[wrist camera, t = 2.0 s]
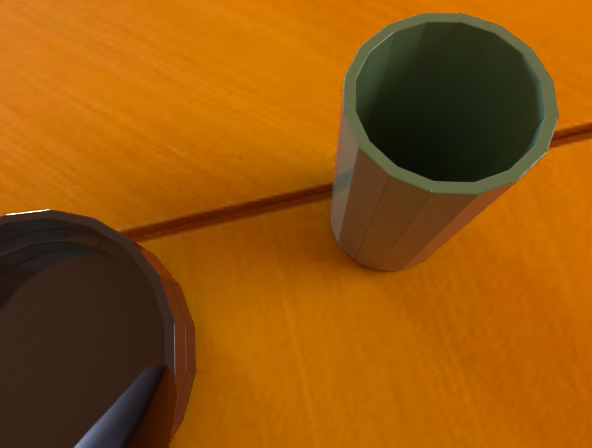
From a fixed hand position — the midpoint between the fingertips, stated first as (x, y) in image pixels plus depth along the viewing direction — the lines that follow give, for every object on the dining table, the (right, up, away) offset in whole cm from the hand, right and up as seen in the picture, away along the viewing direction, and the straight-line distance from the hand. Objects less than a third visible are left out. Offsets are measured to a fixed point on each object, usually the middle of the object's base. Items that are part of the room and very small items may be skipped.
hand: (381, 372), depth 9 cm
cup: (+4, +4, +16) cm, 17 cm away
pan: (-15, -5, +14) cm, 21 cm away
